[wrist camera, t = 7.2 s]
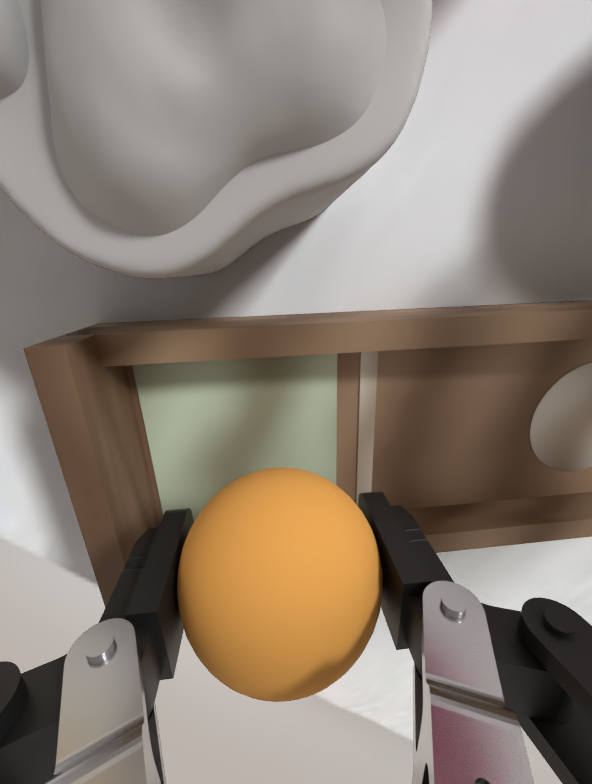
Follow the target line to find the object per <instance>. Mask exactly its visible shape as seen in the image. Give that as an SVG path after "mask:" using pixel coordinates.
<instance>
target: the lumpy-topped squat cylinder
mask: <svg viewBox="0 0 592 784" xmlns="http://www.w3.org/2000/svg"><path fill="white" fill-rule="evenodd" d="M431 21H432V0H0V187H1V188H2V190H3V191H4V192H5V193H6V194H7V195H8V197H9V198H10V199H11V200H12V201H13V202H14V204H15V205H16V206H17V207H18V208H19V209H20V210H21V211H22V212H23V213H24V214H25V215H26V216H27V217H28V218H29V219H30V220H31V221H32V222H33V223H34V224H35V225H36V226H37V227H38V228H40V229H41V230H42V231H43V232H44V233H45V234H46V235H48V236H49V237H50V238H51V239H52V240H54V241H55V242H56V243H57V244H59V245H60V246H61V247H63V248H65V249H66V250H68V251H69V252H71V253H73V254H75V255H76V256H78V257H80V258H82V259H84V260H86V261H88V262H90V263H93V264H95V265H97V266H100V267H103V268H106V269H109V270H112V271H115V272H118V273H122V274H126V275H130V276H135V277H141V278H152V279H156V278H169V277H186V276H195V275H204V274H210V273H214V272H217V271H219V270H221V269H223V268H225V267H227V266H228V265H230V264H231V263H233V262H234V261H235V260H237V259H238V258H239V257H240V256H241V255H243V254H244V253H245V252H246V251H247V250H249V249H250V248H251V247H252V246H253V245H255V244H256V243H257V242H259V241H260V240H262V239H264V238H265V237H267V236H269V235H271V234H273V233H275V232H277V231H280V230H283V229H285V228H288V227H291V226H294V225H297V224H299V223H302V222H305V221H307V220H309V219H311V218H313V217H315V216H317V215H318V214H320V213H321V212H323V211H324V210H325V209H326V208H327V207H328V206H329V205H331V204H332V203H333V202H334V201H335V200H336V199H337V198H338V197H339V196H340V195H341V194H342V193H343V192H345V191H346V190H347V189H348V188H349V187H350V186H351V185H352V184H354V183H355V182H356V181H357V180H358V179H359V178H360V177H361V176H363V175H364V174H365V173H366V172H367V171H368V170H369V169H370V167H372V166H373V165H374V164H375V163H376V162H377V161H378V160H379V159H380V158H381V157H382V156H383V155H384V154H385V153H386V152H387V151H388V150H389V148H390V147H391V146H392V144H393V143H394V142H395V140H396V139H397V137H398V136H399V134H400V132H401V131H402V129H403V127H404V125H405V123H406V121H407V118H408V116H409V114H410V112H411V109H412V107H413V104H414V102H415V99H416V96H417V93H418V89H419V86H420V82H421V78H422V74H423V70H424V66H425V62H426V57H427V53H428V47H429V39H430V31H431Z"/></svg>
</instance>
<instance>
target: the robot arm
mask: <svg viewBox="0 0 592 784" xmlns="http://www.w3.org/2000/svg"><path fill="white" fill-rule="evenodd" d="M358 507H359V508H360V510H361V511H362V512H363V514H364V516H365V518H366V519H367V521H368V523H369V525H370V527H371V529H372V531H373V534H374V536H375V539H376V542H377V545H378V548H379V553H380V558H381V564H382V572H383V593H382V600H381V608H382V611H383V614H384V616H385V619H386V622H387V625H388V627H389V630H390V633H391V636H392V639H393V641H394V644H395V647H396V650H400V649H407V648H409V650H410V652H411V655H412V657H413V660H414V666H413V751H414V752H413V753H414V754H413V780H412V784H534V780H533V776H532V772H531V768H530V764H529V760H528V755H527V751H526V747H525V743H524V739H523V735H522V731H521V727H522V728H523V730H524V731H525V732H526V734H527V735H528V736H529V738H530V739H531V741H532V742H533V744H534V745H535V746H536V748H537V749H538V750H539V752H540V753H541V754H542V756H543V757H544V758H545V760H546V761H547V763H548V764H549V766H550V767H551V768H552V770H553V771H554V772H555V774H556V775H557V777H558V778H559V779H560V781H561V782H562V783H563V784H592V626H591V625H590V624H589V623H588V622H587V621H585V620H584V619H583V618H582V617H581V616H580V615H578V614H577V613H576V612H575V611H573V610H572V609H570V608H568V607H567V606H565V605H563V604H561V603H559V602H556V601H553V600H550V599H546V598H532V599H529V600H527V601H526V602H525V603H524V605H523V607H522V610H521V612H520V611H515V610H509V609H504V608H499V607H493V606H489V605H486V604H483V603H480V601H479V600H478V598H477V597H476V596H475V595H474V594H473V593H472V592H470V591H469V590H468V589H466V588H465V587H463V586H461V585H459V584H456V583H454V581H453V580H452V578H451V577H450V575H449V574H448V572H447V570H446V569H445V567H444V566H443V564H442V562H441V561H440V559H439V557H438V556H437V554H436V553H435V551H434V549H433V548H432V546H431V545H430V543H429V541H427V539H426V537H425V535H424V533H423V532H422V530H420V527H419V525H418V524H417V522H416V520H415V519H414V517H413V516H412V515H411V514H410V513H409V512H407V511H406V510H405V509H404V508H402V507H401V506H400V505H398V506H390V504H389V502H388V500H387V499H386V497H385V495H384V493H383V492H382V491H378V492H366V493H360V494H359V498H358ZM193 523H194V521H193V515H192V511H191V509H190V508H185V509H174V510H166V511H165V513H164V515H163V518H162V520H161V523H160V525H159V528H150V529H147V530H146V531H145V533H144V534H143V535H142V536H141V537H140V538H139V539H138V540H137V541H136V542H135V544H134V547H133V549H132V551H131V553H130V555H129V559H128V560H127V562H126V564H125V566H124V570H123V572H122V573H121V575H120V577H119V580H118V582H117V584H116V586H115V588H114V591H113V593H112V595H111V597H110V599H109V602H108V604H107V606H106V608H105V610H104V613H103V615H102V617H101V619H100V621H99V623H98V624H96V625H94V626H93V627H91V628H89V629H88V630H87V631H86V632H84V633H83V634H82V635H81V636H80V637H79V638H78V639H77V640H76V641H75V643H74V644H73V645H72V647H71V648H70V650H69V652H68V654H66V655H64V656H62V657H60V658H58V659H56V660H53V661H51V662H49V663H46V664H44V665H41V666H39V667H37V668H34V669H32V670H29V671H27V672H24V673H22V674H21V673H20V671H19V668H18V667H17V666H16V665H15V664H14V663H12V662H0V784H166V778H165V771H164V764H163V757H162V749H161V742H160V735H159V727H158V720H157V713H156V707H155V697H156V693H157V689H158V685H159V681H160V680H164V679H171V678H173V677H174V672H175V668H176V662H177V658H178V653H179V648H180V643H181V639H182V634H183V629H184V627H183V624H182V621H181V617H180V613H179V606H178V598H177V576H178V567H179V562H180V557H181V553H182V549H183V546H184V543H185V540H186V538H187V535H188V533H189V531H190V528H191V527H192V525H193ZM520 726H521V727H520Z"/></svg>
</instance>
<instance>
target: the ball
mask: <svg viewBox="0 0 592 784" xmlns="http://www.w3.org/2000/svg"><path fill="white" fill-rule="evenodd" d="M382 593H383V572H382V564H381V558H380V553H379V548H378V545H377V542H376V539H375V536H374V534H373V531H372V529H371V527H370V525H369V523H368V521H367V519H366V518H365V516H364V514H363V512H362V511H361V510H360V508H359V507H358V506H357V505H356V503H355V502H354V501H353V500H352V499H351V497H350V496H348V495H347V494H346V493H345V492H344V491H343V490H342V489H341V488H339V487H338V486H337V485H335V484H334V483H332V482H331V481H329V480H327V479H325V478H323V477H321V476H319V475H317V474H315V473H312V472H309V471H306V470H301V469H296V468H286V467H282V468H269V469H263V470H259V471H255V472H252V473H249V474H247V475H244V476H242V477H240V478H238V479H236V480H235V481H233V482H232V483H230V484H229V485H227V486H226V487H224V488H223V489H221V490H220V491H219V492H218V493H217V494H216V495H215V496H214V497H213V498H212V499H211V500H210V501H209V502H208V503H207V505H206V506H205V507H204V508H203V509H202V510H201V512H200V513H199V515H198V517H197V518H196V520H195V521H194V523H193V525H192V527H191V528H190V531H189V533H188V535H187V538H186V540H185V543H184V546H183V549H182V553H181V557H180V562H179V567H178V576H177V598H178V606H179V613H180V617H181V621H182V624H183V627H184V630H185V633H186V636H187V638H188V640H189V642H190V644H191V646H192V648H193V650H194V652H195V653H196V655H197V657H198V658H199V659H200V661H201V662H202V663H203V664H204V666H205V667H206V668H207V669H208V671H210V673H211V674H212V675H213V676H215V677H216V678H217V679H218V680H219V681H221V682H222V683H224V684H225V685H226V686H228V687H229V688H231V689H232V690H234V691H236V692H238V693H241V694H243V695H246V696H249V697H251V698H254V699H258V700H263V701H273V702H277V701H278V702H279V701H291V700H297V699H301V698H304V697H308V696H311V695H313V694H316V693H318V692H320V691H322V690H324V689H325V688H327V687H328V686H330V685H331V684H333V683H334V682H335V681H337V680H338V679H339V678H341V677H342V676H343V675H344V674H345V673H346V672H347V671H348V670H349V669H350V668H351V667H352V666H353V664H354V663H355V662H356V661H357V659H358V658H359V657H360V655H361V654H362V653H363V651H364V649H365V647H366V645H367V643H368V641H369V640H370V638H371V636H372V634H373V631H374V628H375V625H376V622H377V619H378V616H379V612H380V606H381V600H382Z"/></svg>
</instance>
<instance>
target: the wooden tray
mask: <svg viewBox="0 0 592 784" xmlns="http://www.w3.org/2000/svg"><path fill="white" fill-rule="evenodd" d="M24 351H25V355H26V358H27V361H28V364H29V367H30V370H31V374H32V377H33V380H34V383H35V386H36V389H37V393H38V396H39V399H40V402H41V405H42V408H43V412H44V415H45V418H46V421H47V424H48V427H49V431H50V434H51V437H52V440H53V443H54V446H55V450H56V453H57V456H58V459H59V462H60V465H61V469H62V472H63V475H64V478H65V481H66V484H67V487H68V491H69V494H70V497H71V500H72V503H73V506H74V510H75V513H76V516H77V519H78V522H79V525H80V529H81V532H82V535H83V538H84V541H85V544H86V548H87V551H88V554H89V557H90V560H91V563H92V567H93V570H94V573H95V576H96V579H97V582H98V586H99V589H100V592H101V595H102V598H103V601H104V604H105V608H106V606H107V604H108V602H109V599H110V597H111V595H112V593H113V591H114V588H115V586H116V584H117V582H118V580H119V577H120V575H121V573H122V572H123V570H124V566H125V564H126V562H127V560H128V559H129V555H130V553H131V551H132V549H133V547H134V544H135V542H136V541H137V540H138V539H139V538H140V537H141V536H142V535H143V534H144V533H145V531H146V530H147V529H150V528H159V525H160V523H161V520H162V518H163V515H164V513H165V511H166V510H174V509H185V508H190V509H191V511H192V515H193V521H195V520H196V518H197V517H198V515H199V513H200V512H201V510H202V509H203V508H204V507H205V506H206V505H207V503H208V502H209V501H210V500H211V499H212V498H213V497H214V496H215V495H216V494H217V493H218V492H219V491H220V490H221V489H223V488H224V487H226V486H227V485H229V484H230V483H232V482H233V481H235V480H236V479H238V478H240V477H242V476H244V475H247V474H249V473H252V472H255V471H259V470H263V469H269V468H282V467H286V468H296V469H301V470H306V471H309V472H312V473H315V474H317V475H319V476H321V477H323V478H325V479H327V480H329V481H331V482H332V483H334V484H335V485H337V486H338V487H339V488H341V489H342V490H343V491H344V492H345V493H346V494H347V495H348V496H350V497H351V499H352V500H353V501H354V502H355V503H356V505H357V506H358V498H359V494H360V493H366V492H378V491H382V492H383V493H384V495H385V497H386V499H387V500H388V502H389V504H390V506H398V505H400V506H401V507H402V508H404V509H405V510H406V511H407V512H409V513H410V514H411V515H412V516H413V517H414V519H415V520H416V522H417V524H418V525H419V527H420V530H422V532H423V533H424V535H425V537H426V539H427V541H429V543H430V545H431V546H432V548H433V549H434V551H435V553H438V552H447V551H457V550H467V549H476V548H486V547H495V546H505V545H514V544H524V543H533V542H543V541H552V540H562V539H571V538H581V537H590V536H592V300H589V301H568V302H547V303H526V304H505V305H484V306H462V307H441V308H420V309H399V310H378V311H357V312H336V313H314V314H293V315H272V316H251V317H230V318H209V319H188V320H167V321H145V322H124V323H103V324H96V325H93V326H90V327H87V328H84V329H81V330H78V331H75V332H72V333H69V334H66V335H63V336H60V337H57V338H54V339H51V340H48V341H45V342H42V343H39V344H36V345H33V346H30V347H27V348H24Z"/></svg>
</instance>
